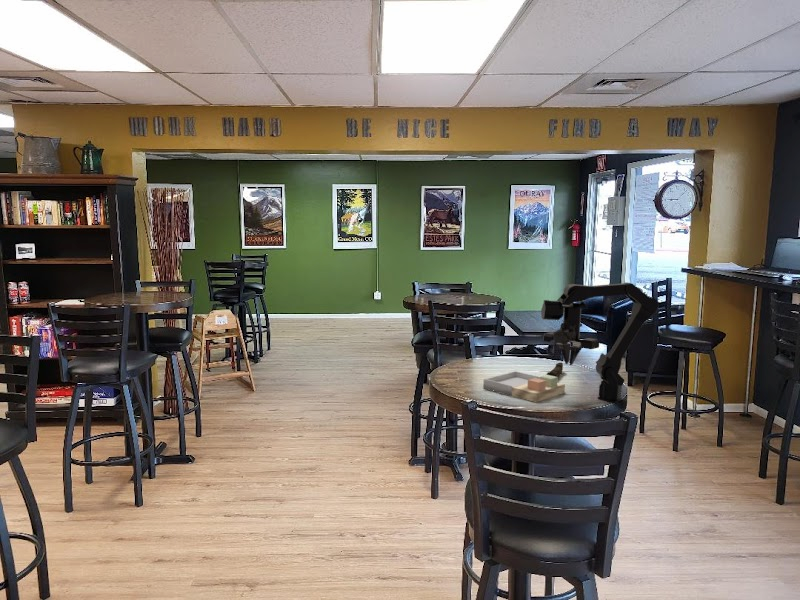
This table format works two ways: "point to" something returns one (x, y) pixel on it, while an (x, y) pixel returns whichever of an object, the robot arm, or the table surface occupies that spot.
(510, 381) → the tray
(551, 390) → the birch board
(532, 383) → the terracotta block
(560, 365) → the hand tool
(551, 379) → the sage block
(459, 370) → the table surface
